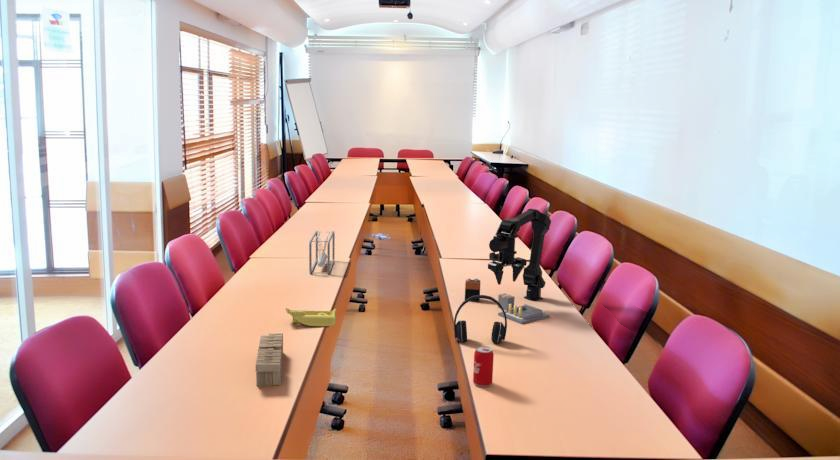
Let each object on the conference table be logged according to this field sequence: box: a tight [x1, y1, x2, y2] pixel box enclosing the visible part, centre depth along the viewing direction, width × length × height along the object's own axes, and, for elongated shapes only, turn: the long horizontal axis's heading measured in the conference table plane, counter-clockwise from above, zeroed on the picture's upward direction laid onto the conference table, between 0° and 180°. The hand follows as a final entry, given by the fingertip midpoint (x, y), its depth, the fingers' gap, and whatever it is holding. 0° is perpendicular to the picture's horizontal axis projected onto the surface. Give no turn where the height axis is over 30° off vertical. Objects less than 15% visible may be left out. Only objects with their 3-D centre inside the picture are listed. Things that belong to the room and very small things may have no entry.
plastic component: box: [285, 307, 337, 327], centre depth 270 cm, size 20×7×10 cm
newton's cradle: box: [308, 230, 336, 275], centre depth 357 cm, size 30×10×18 cm, turn 2°
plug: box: [497, 293, 515, 311], centre depth 295 cm, size 4×6×6 cm
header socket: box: [497, 303, 551, 325], centre depth 285 cm, size 17×14×6 cm
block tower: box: [255, 332, 284, 387], centre depth 222 cm, size 8×8×29 cm
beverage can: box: [472, 345, 495, 388], centre depth 215 cm, size 6×6×12 cm
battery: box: [464, 278, 481, 302], centre depth 307 cm, size 4×7×10 cm, turn 83°
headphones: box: [453, 294, 508, 344], centre depth 252 cm, size 20×7×18 cm, turn 88°
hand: (506, 282), depth 294 cm, fingers open, 9 cm apart
